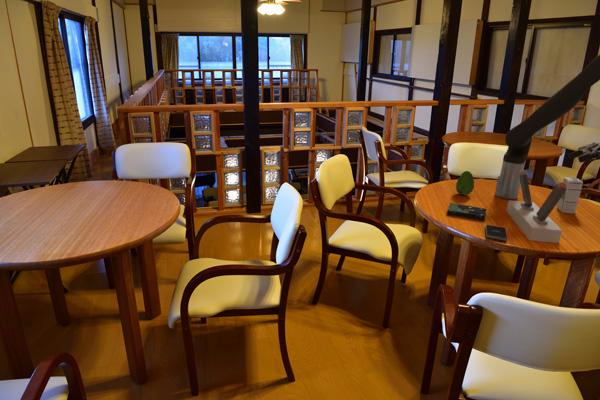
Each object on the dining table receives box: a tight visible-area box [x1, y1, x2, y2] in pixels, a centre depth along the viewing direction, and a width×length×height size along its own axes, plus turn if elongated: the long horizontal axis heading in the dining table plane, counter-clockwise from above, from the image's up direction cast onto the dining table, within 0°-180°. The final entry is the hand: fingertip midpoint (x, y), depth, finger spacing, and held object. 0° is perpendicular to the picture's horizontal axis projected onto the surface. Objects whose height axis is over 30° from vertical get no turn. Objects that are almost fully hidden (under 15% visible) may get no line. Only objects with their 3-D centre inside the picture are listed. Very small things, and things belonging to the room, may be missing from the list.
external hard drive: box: [484, 224, 508, 243], centre depth 153 cm, size 7×11×2 cm, turn 158°
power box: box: [506, 200, 563, 244], centre depth 162 cm, size 10×30×6 cm, turn 169°
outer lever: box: [536, 181, 567, 221], centre depth 151 cm, size 3×5×15 cm, turn 170°
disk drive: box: [446, 202, 487, 222], centre depth 173 cm, size 10×3×15 cm
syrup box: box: [556, 176, 584, 214], centre depth 178 cm, size 6×6×14 cm
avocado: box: [455, 170, 475, 196], centre depth 195 cm, size 8×8×12 cm
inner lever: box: [519, 169, 533, 207], centre depth 165 cm, size 3×5×15 cm, turn 168°
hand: (573, 158), depth 150 cm, fingers open, 8 cm apart
